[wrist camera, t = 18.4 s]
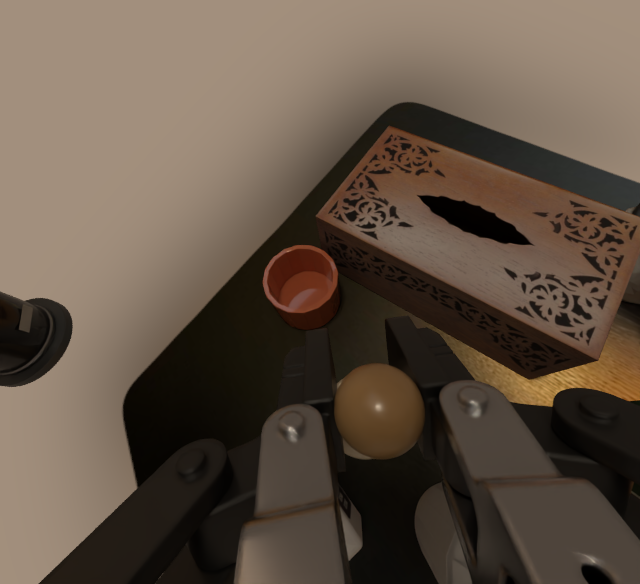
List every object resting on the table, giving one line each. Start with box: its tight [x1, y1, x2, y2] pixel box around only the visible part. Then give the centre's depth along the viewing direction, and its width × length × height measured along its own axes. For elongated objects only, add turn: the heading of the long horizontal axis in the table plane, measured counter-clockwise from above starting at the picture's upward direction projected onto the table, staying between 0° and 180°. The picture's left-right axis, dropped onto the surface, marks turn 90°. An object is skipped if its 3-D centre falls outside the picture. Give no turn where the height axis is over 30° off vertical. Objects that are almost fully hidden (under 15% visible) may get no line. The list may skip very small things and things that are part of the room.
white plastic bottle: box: [415, 482, 472, 584], centre depth 21 cm, size 7×7×15 cm
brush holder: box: [263, 245, 340, 330], centre depth 35 cm, size 8×8×6 cm
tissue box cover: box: [316, 126, 640, 379], centre depth 33 cm, size 26×14×10 cm, turn 55°
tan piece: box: [334, 363, 425, 459], centre depth 14 cm, size 4×4×18 cm
